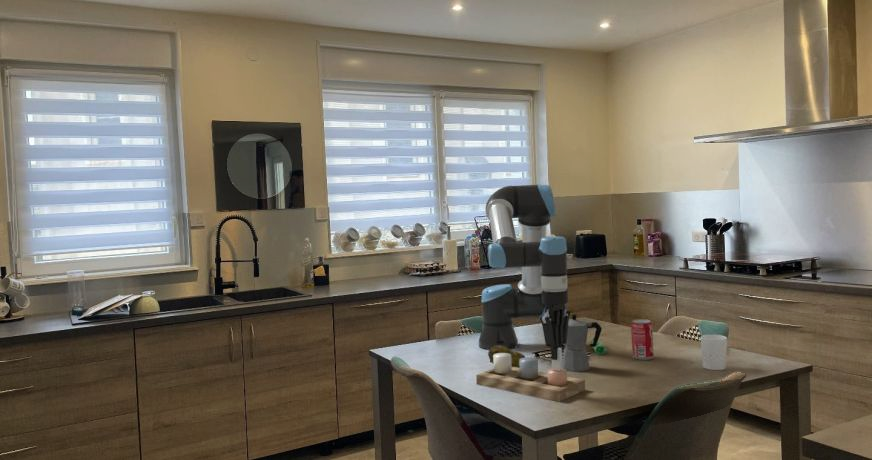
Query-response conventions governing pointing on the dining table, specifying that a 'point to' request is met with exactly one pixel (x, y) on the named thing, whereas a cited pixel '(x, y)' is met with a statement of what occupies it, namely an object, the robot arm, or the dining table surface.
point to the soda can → (642, 339)
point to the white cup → (714, 351)
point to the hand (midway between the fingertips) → (557, 369)
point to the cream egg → (502, 363)
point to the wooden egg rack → (530, 384)
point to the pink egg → (557, 377)
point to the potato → (501, 349)
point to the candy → (599, 348)
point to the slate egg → (528, 367)
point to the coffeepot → (578, 344)
